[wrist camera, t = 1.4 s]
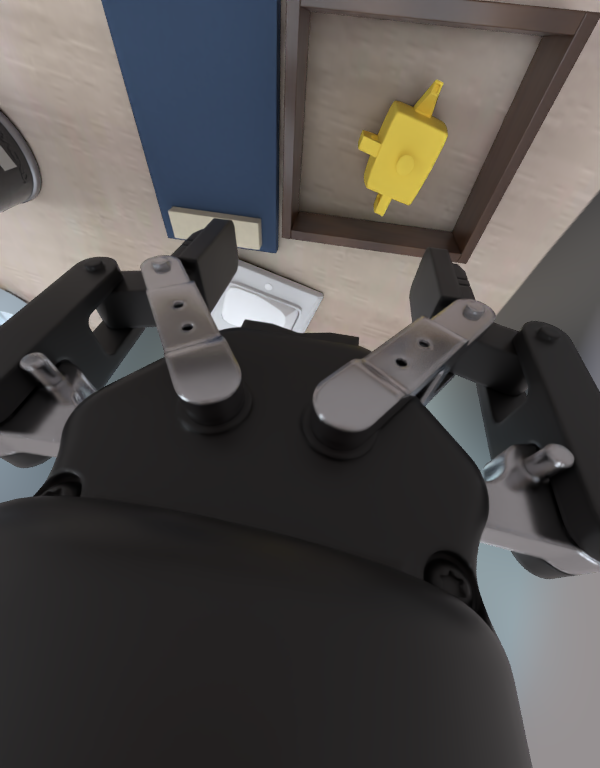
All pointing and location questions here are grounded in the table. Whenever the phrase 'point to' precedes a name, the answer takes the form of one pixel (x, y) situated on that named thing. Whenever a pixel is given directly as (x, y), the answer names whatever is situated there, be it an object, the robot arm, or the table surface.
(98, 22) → the table surface
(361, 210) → the table surface
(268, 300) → the light switch
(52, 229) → the table surface
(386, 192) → the teapot
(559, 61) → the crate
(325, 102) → the table surface
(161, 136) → the bed mat
